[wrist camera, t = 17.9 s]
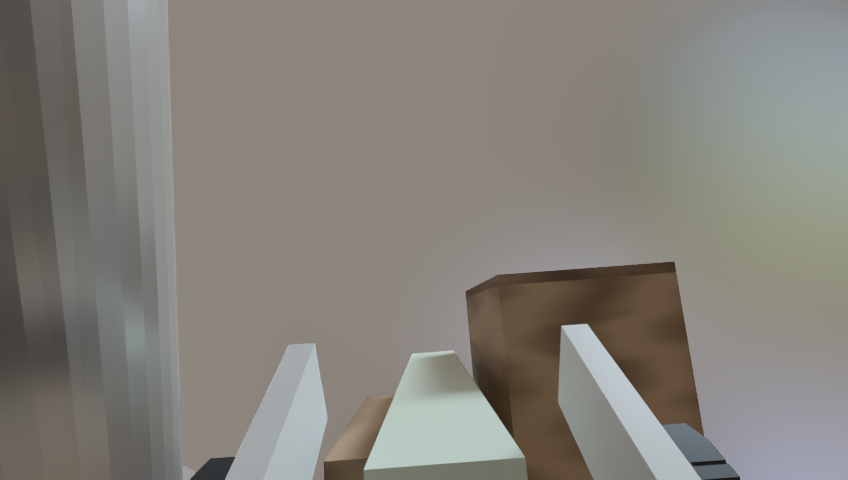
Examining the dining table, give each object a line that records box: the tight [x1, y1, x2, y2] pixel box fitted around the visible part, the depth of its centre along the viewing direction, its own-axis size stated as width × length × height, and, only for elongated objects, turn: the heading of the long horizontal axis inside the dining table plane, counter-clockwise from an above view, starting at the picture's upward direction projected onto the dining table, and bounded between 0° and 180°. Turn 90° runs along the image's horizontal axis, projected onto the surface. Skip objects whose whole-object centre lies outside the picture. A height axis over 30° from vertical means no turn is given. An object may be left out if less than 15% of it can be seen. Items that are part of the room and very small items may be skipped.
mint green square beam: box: [363, 351, 528, 480], centre depth 26 cm, size 4×32×4 cm, turn 179°
